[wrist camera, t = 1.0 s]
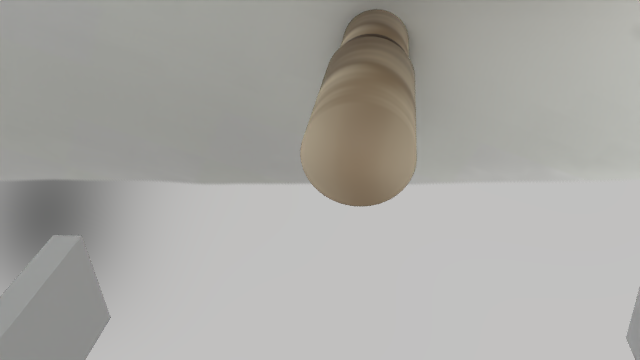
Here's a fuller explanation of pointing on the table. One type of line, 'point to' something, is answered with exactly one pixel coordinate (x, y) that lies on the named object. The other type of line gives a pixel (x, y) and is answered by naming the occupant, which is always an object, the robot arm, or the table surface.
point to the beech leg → (364, 115)
